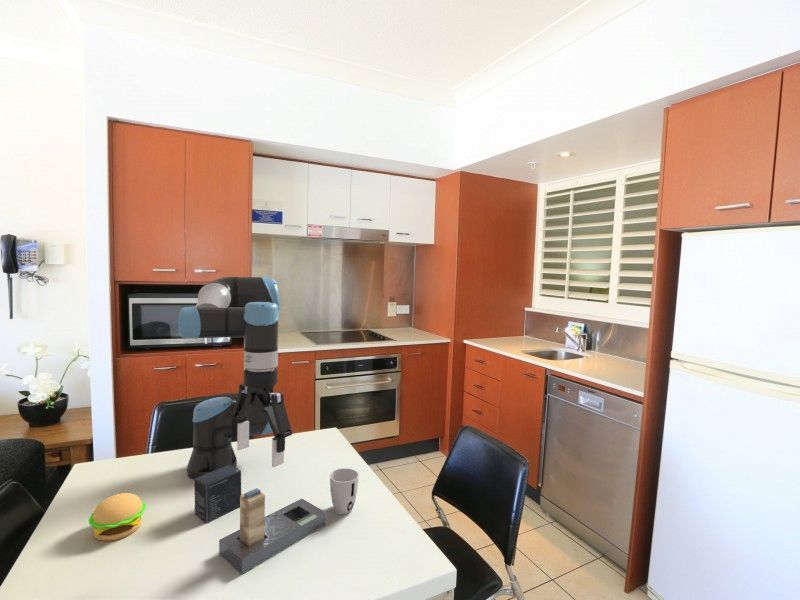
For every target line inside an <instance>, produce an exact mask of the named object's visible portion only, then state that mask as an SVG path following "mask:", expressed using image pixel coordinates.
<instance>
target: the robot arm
mask: <svg viewBox="0 0 800 600" xmlns="http://www.w3.org/2000/svg"><path fill="white" fill-rule="evenodd" d="M279 296H280V293H279V289H278V284H277V281H276V280H275V278H272V277H271V278H270V277H263V276H261V277H260V276H259V277H258V276H253V277H251V276H223V277H219V278H216V279H213V280H211V281H208V282H207V283H205V284H203V286H202V287H201V288H200V289H199V291H198V294H197V303H196V305H195V306H190V307H189V306H188V307H182V308H180V310H179V312H178V318H177V319H178V321H177V324H178V325H177V326H178V327H177V328H178V334H179V336H180V337H181V338H184V339H194V340H197V339H214V338H216V339H217V338H218V339H219V338H221V339H222V338H244V339H243V383H241V384H239V386H238V387H239V388H238V394H237V397H236V400H235V401H233V400H232V398H231V397H229V396H217V397H213V398H210V399H206V400H203V401H202V402H201V401H200V403H198V404H197V405H196V406H195V407H194V409H193V418H192V425H193V426H192V428H193V429H192V430H193V433H192V451H191V454H190V456H189V457H190V458H189V460H188V462H187V465H186V474H187V477H188V478H190V479H192V480H194V479H195V478H197V477H200V476H202V475H205V474H207V473H210V472H212V471H215V470H217V469H220V468H222V467H225V466H227V465H230V466H233V467H235V468H237V466H238V461H237V455H236V453H235V451H234V448H233V445H232V439H233V438H234V439H235V438H236V441H237V446H236V447H237V448H236V449H237V450H238V451H242V450H244V449H248V448H249V447H250V437H253V436H259V437H260V436H263V435H271V434H272V433H273V436H274V437H272V438H271V467H272V468H276V467H277V466H280V465H283V464H284V462H285V461H284V460H285V450H286V438H287V437H291V436H292V435H293V431H292V428H291V424H290V420H289V416H288V413H287V409H286V406H285V401H284V400H285V399H284V392H282V391H281V392H275V390H274V387H275V386H276V385H277V384H278V372H279V371H278V368H277V367H278V365H279V347H278V344H279V340H278V339H279V319H280V318H279V317H280V316H279V311H280V309H281V306H280V305H281V304H280V297H279Z"/></svg>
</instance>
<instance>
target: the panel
mask: <svg viewBox="0 0 800 600" xmlns="http://www.w3.org/2000/svg"><path fill="white" fill-rule="evenodd" d="M326 515H327V514H326V511H324V510H323V509H321V508H320V507H318V506H316V505H314V504H313V503H311V502H309V501H308V500H305V499H304V498H300V499H298V500H296V501H293V502H292V503H289V504H288V505H286V506H283V507H282V508H280V509H278V510H275V511H274V512H272V513H270V514H268V515H265V527H264V540H262V541H260V542H258V543H256V544H254V545H253V546H251V547H249V548H248V547H246V546H245V545H244V544H243V543H241V542H240V529H238V530H236V531H234V532H232V533H230V534H228V535H226V536H223V537H222V538H219V542H218V554H219V556H220V557H222V558H223V559H224V560H225V561H226V562H227V563H229V565H231V566H232V567H233V568H234V569H235V570H236V571H237V572H238V573H240V574H241V575H244V574H245V573H247V572H249V571H250V570H253V569H254V568H255V567H257V566H259V565H261V564H262V563H264V562H265V561H267V560H269V559H270V558H272V557H274V556H275V555H277V554H279V553H281V552H282V551H285V549H287V548H289V547H290V546H292V545H295V544H296V543H298V542H299V541H301V540H302V539H304V538H305V537H308V536H309V535H311V534H313V533H314V532H315V531H318V530H319V529H321V528H323V527H325V526H326V518H327V517H326ZM298 519H299V520H298Z"/></svg>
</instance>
